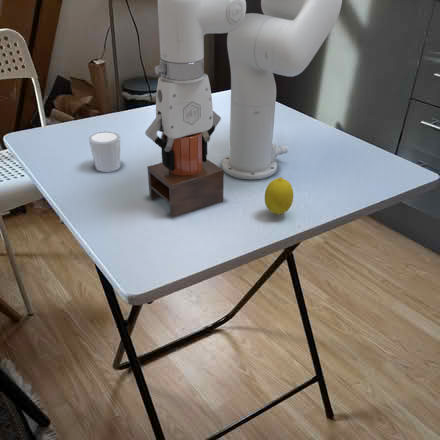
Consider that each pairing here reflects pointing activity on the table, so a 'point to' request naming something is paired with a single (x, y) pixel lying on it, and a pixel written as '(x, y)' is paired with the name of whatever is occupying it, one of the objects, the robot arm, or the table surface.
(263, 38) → the robot arm
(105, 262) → the table surface
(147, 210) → the table surface
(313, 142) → the table surface
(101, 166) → the white short cylinder
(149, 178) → the shelf
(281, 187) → the lemon
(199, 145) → the cup
